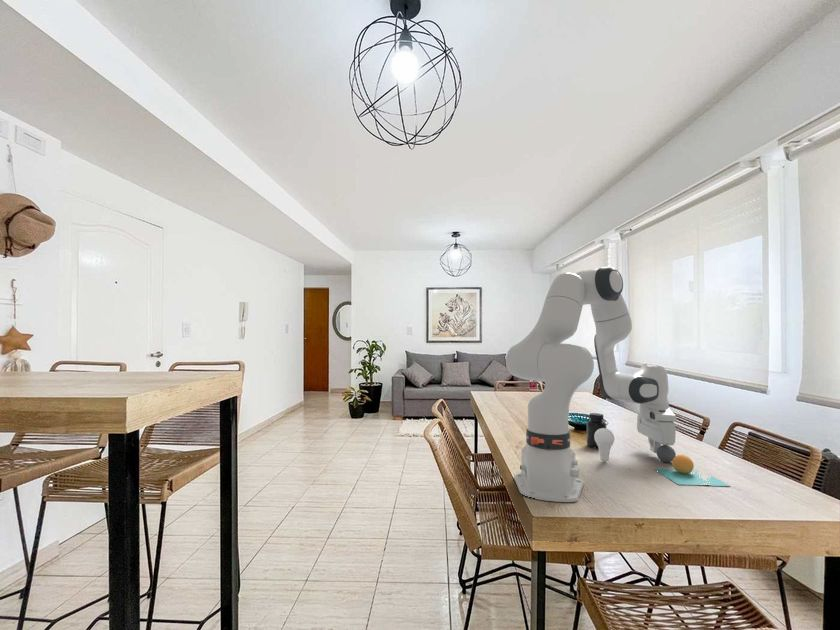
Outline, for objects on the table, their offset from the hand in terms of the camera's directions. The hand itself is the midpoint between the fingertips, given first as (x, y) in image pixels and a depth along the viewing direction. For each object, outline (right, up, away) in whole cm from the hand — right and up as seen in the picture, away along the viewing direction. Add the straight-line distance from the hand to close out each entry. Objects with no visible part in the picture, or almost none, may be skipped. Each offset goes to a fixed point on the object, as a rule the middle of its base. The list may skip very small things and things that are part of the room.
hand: (654, 452), depth 146 cm
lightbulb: (-20, -1, -7) cm, 21 cm away
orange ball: (-1, +2, -18) cm, 18 cm away
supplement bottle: (-14, -2, +13) cm, 20 cm away
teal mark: (-1, -1, -21) cm, 21 cm away
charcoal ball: (0, +1, -6) cm, 6 cm away
